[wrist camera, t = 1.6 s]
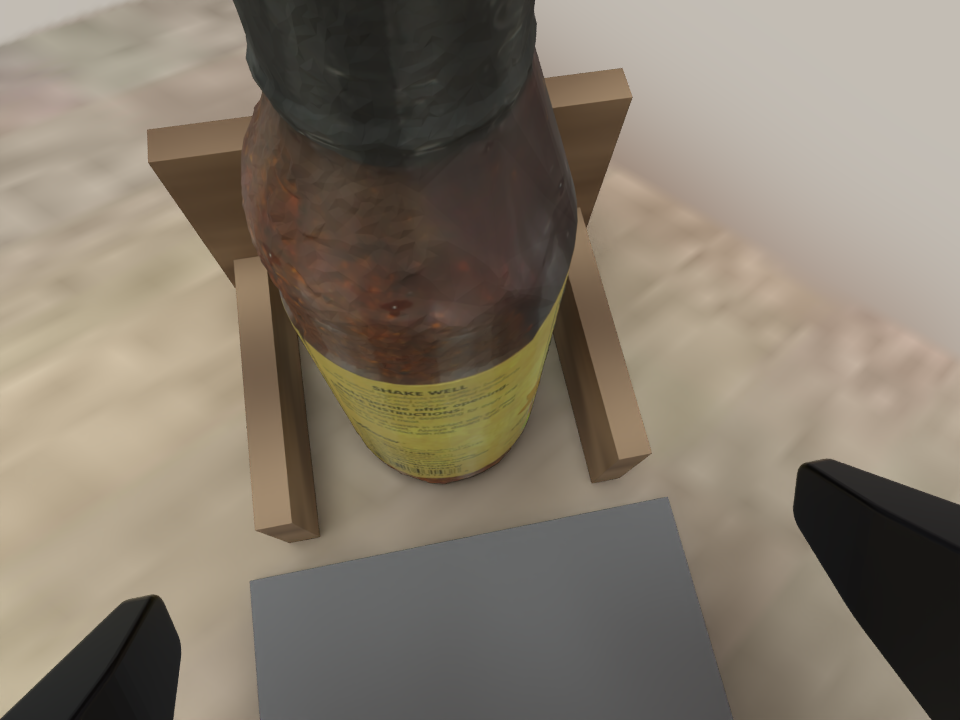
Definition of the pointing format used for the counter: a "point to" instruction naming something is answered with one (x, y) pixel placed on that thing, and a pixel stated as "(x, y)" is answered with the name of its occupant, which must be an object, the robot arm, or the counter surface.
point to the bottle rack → (274, 342)
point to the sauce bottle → (412, 214)
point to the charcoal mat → (496, 628)
